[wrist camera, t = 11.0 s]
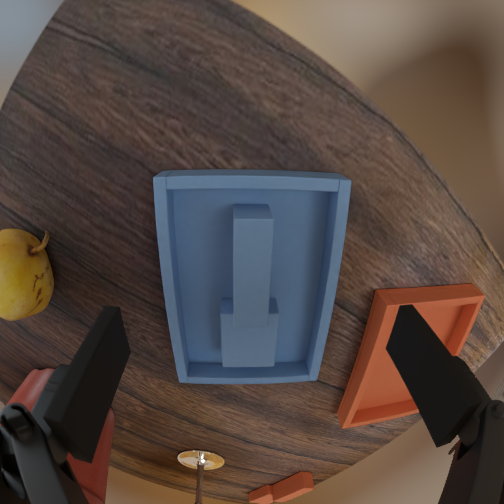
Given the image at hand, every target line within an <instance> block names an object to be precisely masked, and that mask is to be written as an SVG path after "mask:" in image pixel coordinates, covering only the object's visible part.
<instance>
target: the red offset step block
mask: <svg viewBox="0 0 504 504" xmlns="http://www.w3.org/2000/svg"><path fill="white" fill-rule="evenodd" d="M313 489H314V483H313V478H312V473H311V472H305V471H301V472H299V473H297V474H295V475H293V476H291V477H289V478H287V479H285V480H282V481H280V482H278V483H276V484H274V485H266V486H264V487H261V488H259V489H257V490H254V491H252V492H250V493H249V502H253V503H260V504H270V503H272V502H275V501H276V502H285V501H287V500H290V499H292V498H295V497H297V496H300V495H301V494H304V493H307V492H309V491H311V490H313Z"/></svg>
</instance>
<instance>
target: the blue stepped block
mask: <svg viewBox="0 0 504 504" xmlns="http://www.w3.org/2000/svg"><path fill="white" fill-rule="evenodd" d="M273 233H274V218H273V216H272V213H271V211H270V208H269V205H268V204H234V213H233V298H222V299H221V309H220V323H221V346H222V366H223V367H271V366H274V363H275V353H276V343H277V333H278V323H279V310H278V305H277V301H276V298H270V284H271V268H272V251H273Z"/></svg>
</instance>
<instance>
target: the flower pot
mask: <svg viewBox="0 0 504 504" xmlns="http://www.w3.org/2000/svg"><path fill="white" fill-rule="evenodd" d="M54 370H55V369H52V368H46V369H44V370H38V369H34V370H32V371H31V372H30V373H29V375H28V376H27V377H26V379H25V380H24V381H23V383H22V384H21V385H20V387H19V388H18V389H17V391H16V392H15V393H14V395H13V396H12V398H11V399H10V400H9V402H8V403H7V405H8V404H10V403H15V402H18V403H22V404H23V405H25V406H26V407H27V409H28V410H29V412H31V410H32V408H33V406H34V404H35V403H36V401H37V399H38V397H39V395H40V393H41V391H42V390H43V388H44V386H45V384H46V383H47V382H48V379H49V377H50V375H51V374H52V372H53V371H54ZM0 426H2V425H1V424H0ZM114 427H115V415H114V412H113V410H112V408H111V407H110V409H109V412H108V415H107V418H106V421H105V424H104V427H103V430H102V433H101V436H100V439H99V442H98V445H97V449H96V452H95V455H94V458H93V462H92V464H91V463H87V462H84V461H80V460H77V459H74V458H73V456H72V455H71V454H70V453H69V452H68V455H67V458H66V459H67V460H68V462H69V464H70V466H71V468H72V470H73V472H74V474H75V477H76V479H77V481H78V483H79V485H80V487H81V489H82V491H83V492H84V494H85V496H86V498H87V500H88V502H89V504H105V496H106V486H107V476H108V468H109V460H110V453H111V446H112V439H113V433H114Z"/></svg>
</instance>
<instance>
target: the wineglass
mask: <svg viewBox="0 0 504 504" xmlns="http://www.w3.org/2000/svg"><path fill="white" fill-rule="evenodd" d="M177 458H178V461H179V462H180V463H182V464H183V465H185V466H187V467H190V468H194V469H197V486H196V502H195V504H202V487H203V471H204V470H210V469H216V468H219V467H221V466H222V465H223V464H224V458H223V457H222V456H220V455H219V454H216V453H214V452H210V451H206V450H186V451H183V452H181V453H179V454H178V457H177Z"/></svg>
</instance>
